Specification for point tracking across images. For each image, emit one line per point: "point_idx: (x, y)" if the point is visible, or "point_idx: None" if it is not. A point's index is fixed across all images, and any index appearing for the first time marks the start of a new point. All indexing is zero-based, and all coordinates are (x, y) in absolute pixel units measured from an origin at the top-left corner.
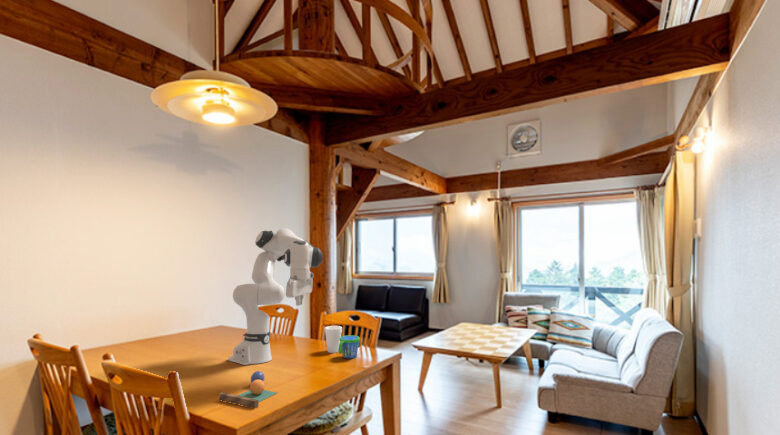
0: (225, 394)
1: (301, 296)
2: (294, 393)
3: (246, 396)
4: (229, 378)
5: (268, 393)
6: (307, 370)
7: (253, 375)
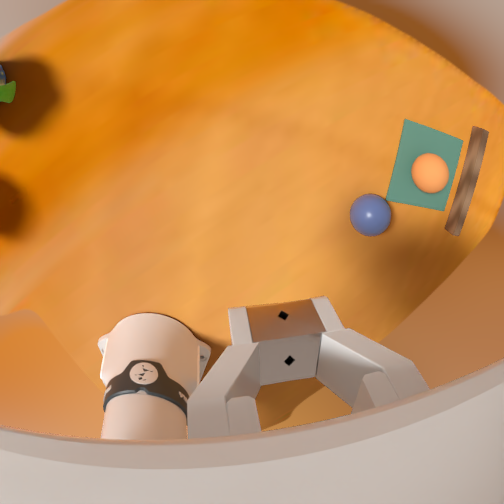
0: (463, 219)
1: (258, 421)
2: (397, 70)
3: None
4: None
5: (414, 139)
6: (180, 130)
7: (388, 224)
